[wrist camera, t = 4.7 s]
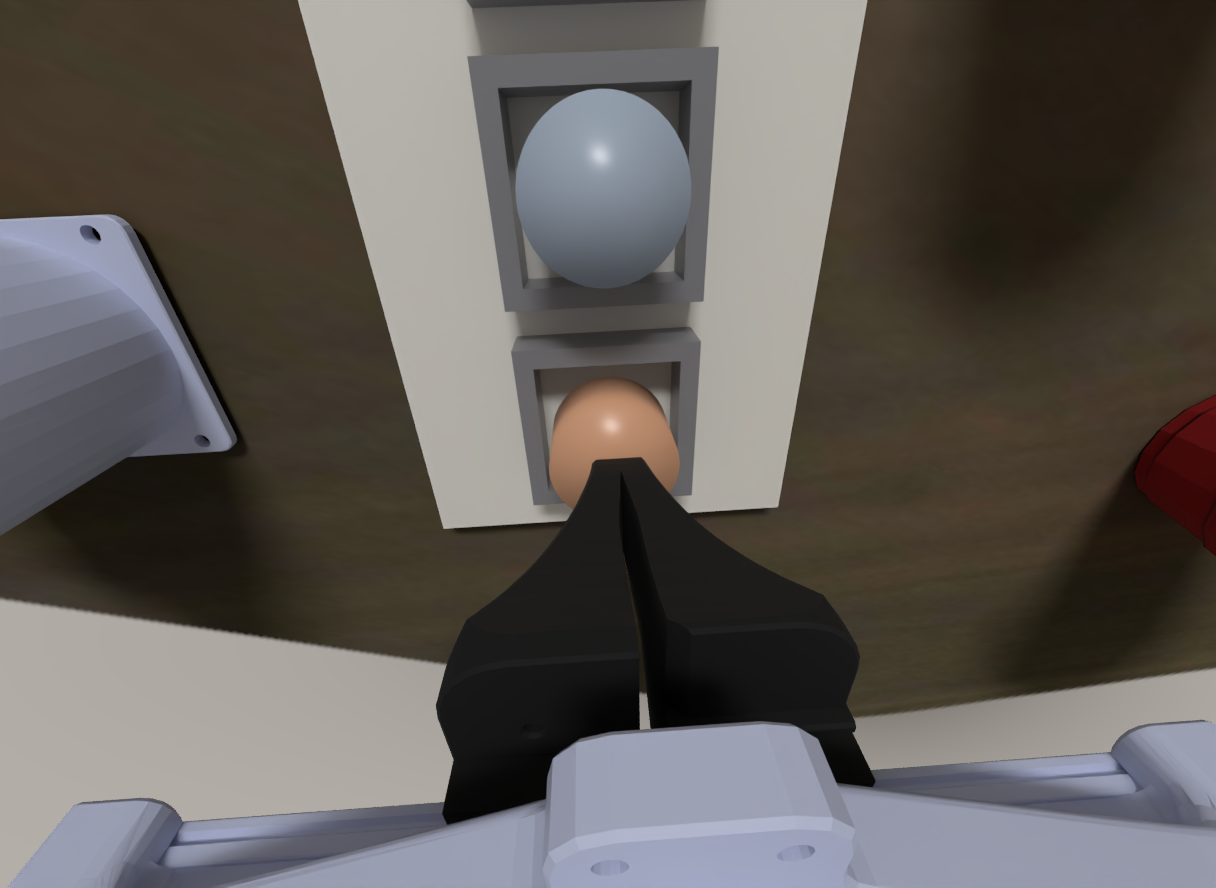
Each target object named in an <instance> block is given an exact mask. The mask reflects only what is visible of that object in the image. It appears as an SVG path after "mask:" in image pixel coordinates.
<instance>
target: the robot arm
mask: <svg viewBox="0 0 1216 888" xmlns="http://www.w3.org/2000/svg"><path fill="white" fill-rule="evenodd" d="M92 227H93V228H94V229H96V230H97V231H98V233H99V234H100V237H101V241H100V240H98V239H97V238H96V237H95V235H94V234H93V231H92ZM202 435H203V436H205V437H207V438H208V439H209V441H210V442H209V441H207V440H205V439H204V438H203V437H202ZM236 441H237V438H236V434H235V432H234V430H233V428H232V426H231V424H230V422H229V420H228V418H227V416H226V414H225V412H224V410H223V408H222V406H221V404H220V402H219V400H218V398H217V396H216V394H215V392H214V390H213V388H212V386H211V384H210V382H209V380H208V378H207V376H206V374H205V372H204V370H203V368H202V366H201V364H200V362H199V360H198V358H197V356H196V354H195V352H194V350H193V348H192V346H191V344H190V342H189V340H188V338H187V336H186V334H185V332H184V330H183V328H182V326H181V324H180V322H179V320H178V318H177V316H176V314H175V312H174V310H173V308H172V306H171V304H170V302H169V300H168V298H167V296H166V294H165V291H164V289H163V287H162V285H161V283H160V281H159V279H158V277H157V275H156V273H155V271H154V269H153V267H152V265H151V263H150V261H149V259H148V257H147V255H146V253H145V251H144V249H143V247H142V245H141V243H140V241H139V239H138V237H137V235H136V233H135V231H134V230H133V228H132V227H131V226H130V224H128V223H127V222H126V221H125V220H124V219H122V218H120V217H118V216H116V215H109V214H105V215H84V216H63V217H41V218H20V219H0V536H1V535H2V534H4V533H6V532H7V531H9V530H10V529H12V528H14V527H15V526H17V525H19V524H20V523H22V522H23V521H25V520H27V519H28V518H30V517H31V516H33V515H35V514H36V513H38V512H39V511H41V510H43V509H44V508H46V507H48V506H49V505H51V504H52V503H54V502H56V501H57V500H59V499H60V498H62V497H64V496H65V495H67V494H68V493H70V492H72V491H73V490H75V489H77V488H78V487H80V486H81V485H83V484H85V483H86V482H88V481H89V480H91V479H93V478H94V477H96V476H97V475H99V474H101V473H102V472H104V471H106V470H107V469H109V468H110V467H112V466H114V465H115V464H117V463H118V462H120V461H122V460H123V459H125V458H126V457H137V456H153V455H170V454H187V453H203V452H220V451H226V450H229V449H230V448H231V447H232V446H234V445H235V444H236ZM623 551H624V556H625V561H626V566H627V570H628V575H629V580H630V585H631V589H632V594H633V599H634V603H635V608H636V613H637V618H638V623H639V629H640V635H641V643H642V652H643V661H644V670H645V680H646V689H647V698H648V708H649V717H650V727H651V729H644V730H640V718H639V717H640V712H639V652H638V644H637V635H636V627H635V621H634V616H633V611H632V606H631V600H630V594H629V589H628V583H627V576H626V570H625V563H624V556H623ZM859 660H860V655H859V652H858V648H857V645H856V643H855V641H854V640H853V638H852V636H851V635H850V633H849V631H848V629H847V628H846V626H845V625H844V623H843V622H842V620H841V619H840V617H839V616H838V614H837V613H836V611H835V610H834V609H833V608H832V606H831V605H830V604H829V602H828V601H827V600H826V598H825V597H824V595H822V594H820V593H818V592H815V591H813V590H811V589H809V588H806V587H804V586H802V585H799V584H797V583H795V582H793V581H790V580H788V579H786V578H784V577H781V576H779V575H778V574H776V573H774V572H772V571H770V570H768V569H766V568H764V567H762V566H760V565H759V564H757V563H755V562H753V561H752V560H750V559H748V558H747V557H745V556H743V555H742V554H740V553H739V552H737V551H736V550H734V549H733V548H731V547H730V546H728V545H727V544H725V543H724V542H722V541H721V540H719V539H718V538H717V537H715V536H714V535H713V534H712V533H710V532H709V531H708V530H707V529H705V528H704V527H703V526H702V525H701V524H700V523H698V522H697V521H696V520H695V519H694V518H693V517H692V516H691V515H690V514H689V513H688V512H687V511H686V510H685V509H684V508H683V507H682V506H681V505H680V504H679V503H678V502H677V501H676V500H675V499H674V498H673V496H672V495H671V494H670V493H669V492H668V491H667V490H666V488H665V487H664V486H663V485H662V484H661V482H660V481H659V480H658V479H657V477H656V476H655V475H654V473H653V472H652V470H651V469H650V468H649V466H648V465H647V463H646V461H645V460H644V459H643V458H642V457H633V458H616V459H599V460H595V461H594V462H593V463H592V467H591V471H590V474H589V477H588V480H587V483H586V485H585V487H584V490H583V492H582V494H581V496H580V498H579V500H578V502H577V504H576V506H575V508H574V509H573V511H572V513H571V514H570V516H569V518H568V519H567V521H566V523H565V524H564V526H563V527H562V529H561V530H560V532H559V533H558V535H557V536H556V537H555V539H554V540H553V541H552V543H551V544H550V545H549V546H548V548H547V549H546V550H545V551H544V552H543V554H542V555H541V556H540V557H539V558H538V559H537V561H536V562H535V563H534V564H533V565H532V566H531V567H530V568H529V569H528V570H527V571H526V572H525V573H524V574H523V575H522V576H521V577H520V578H519V579H518V580H517V581H516V582H514V583H513V584H512V585H511V586H510V587H509V588H508V589H507V590H506V591H505V592H504V593H502V594H501V595H500V596H499V597H497V598H496V599H495V600H493V601H492V602H491V603H489V604H488V605H487V606H485V607H484V608H482V609H481V610H480V611H478V612H477V613H476V614H474V615H473V616H471V617H470V618H468V619H467V620H466V622H465V624H464V626H463V628H462V630H461V632H460V634H459V637H458V639H457V641H456V643H455V646H454V648H453V650H452V653H451V655H450V658H449V660H448V663H447V666H446V669H445V673H444V677H443V681H442V684H441V688H440V692H439V696H438V700H437V703H436V709H437V715H438V720H439V722H440V725H441V728H442V730H443V733H444V736H445V738H446V741H447V744H448V746H449V749H450V751H451V754H452V757H453V759H454V761H453V766H452V770H451V775H450V779H449V784H448V789H447V793H446V798H445V802H440V803H427V804H414V805H399V806H386V807H373V808H361V809H360V808H359V809H347V810H333V811H319V812H306V813H293V814H279V815H267V816H252V817H240V818H226V819H212V820H199V821H186V822H182V820H181V817H180V816H179V814H178V813H177V812H176V810H174V808H172V807H171V806H170V805H168V804H167V803H165V802H163V801H159V800H156V799H151V798H134V799H120V800H108V801H107V800H106V801H93V802H82V803H79V804H77V805H74V806H73V807H72V808H71V809H70V811H69V812H68V813H67V814H66V815H65V817H64V818H63V819H62V820H61V822H60V823H59V824H58V825H57V826H56V828H55V829H54V830H53V832H52V833H51V834H50V835H49V836H48V838H47V839H46V840H45V841H44V843H43V844H42V845H41V846H40V848H39V849H38V850H37V851H36V853H35V854H34V855H33V856H32V857H31V859H30V860H29V861H28V862H27V864H26V865H25V866H24V867H23V869H22V870H21V871H20V872H19V873H18V875H17V876H16V877H15V879H14V880H13V881H12V882H11V883H10V885H9V886H8V887H7V888H1216V726H1215V725H1214V724H1213V723H1212V722H1209V721H1205V720H1196V721H1195V720H1194V721H1181V722H1168V723H1154V724H1146V725H1141V726H1137V727H1135V728H1133V729H1130V730H1128V731H1127V732H1125V733H1124V734H1123V735H1122V736H1121V737H1120V738H1119V739H1118V740H1117V741H1116V742H1115V744H1114V745H1113V747H1112V750H1111V752H1108V753H1095V754H1081V755H1070V756H1069V755H1068V756H1055V757H1041V758H1028V759H1014V760H1001V761H988V762H975V763H961V764H948V765H935V766H921V767H909V768H908V767H907V768H894V769H881V770H870V768H869V766H868V764H867V762H866V760H865V758H864V756H863V754H862V752H861V749H860V747H859V745H858V743H857V741H856V739H855V737H854V735H853V733H852V732H855V729H856V725H855V721H854V719H853V717H852V715H851V713H850V711H849V709H848V707H847V705H846V701H847V699H848V696H849V693H850V690H851V687H852V685H853V682H854V679H855V676H856V674H857V671H858V666H859Z"/></svg>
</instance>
